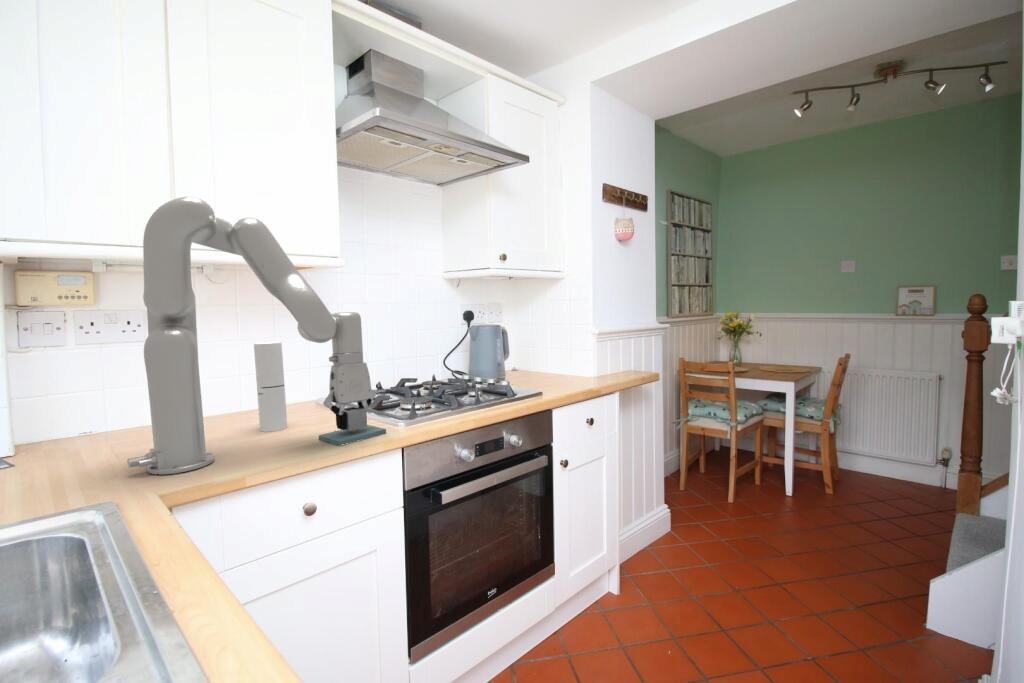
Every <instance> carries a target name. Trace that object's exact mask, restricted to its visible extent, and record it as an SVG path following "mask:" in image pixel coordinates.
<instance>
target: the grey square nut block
mask: <svg viewBox="0 0 1024 683" xmlns="http://www.w3.org/2000/svg"><path fill="white" fill-rule="evenodd" d="M351 409H354V410H352V411H348V410H351ZM366 413H367V410H366V408H362V407H358V405H353V406H349V407H345V408H344V412H343V414H344V415H345V420H346V429H345V430H346V431H352V430H356V429H360V428H364V427H367V425H368V420H367V419H368V418H367V415H366Z"/></svg>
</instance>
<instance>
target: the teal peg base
mask: <svg viewBox="0 0 1024 683" xmlns="http://www.w3.org/2000/svg"><path fill="white" fill-rule="evenodd" d="M352 410H354V409H351V410H348V411H352ZM381 434H382V435H385V434H387V428H383V427H378V426H374V425H371V424H367V427H364V428H360V429H356V430H352V431H346V430H341V429H337V430H334V431H330V432H328V433H321V434H319V435H318V440H319V441H321V442H324V441H325V443H328V442H329V444H331V443H332V445H335V444H336V445H335V446H338V445H342V444H345V445H347V444H346V443H349V444H351V443H350V442H353V441H356V442H358V441H357V440H360V441H362V440H361V439H364V440H367V439H370V437H371V438H374V437H377V436H378V437H379V436H382V435H381ZM373 436H374V437H373ZM366 438H367V439H366ZM353 443H354V442H353ZM342 446H343V445H342Z"/></svg>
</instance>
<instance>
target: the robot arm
mask: <svg viewBox="0 0 1024 683" xmlns="http://www.w3.org/2000/svg"><path fill="white" fill-rule="evenodd" d="M142 241H143V242H142V244H143V245H142V246H143V248H142V252H143V263H142V264H143V266H142V267H143V295H142V297H143V304H144V306H145V307H146V314H147V315H146V317H147V332H148V335H147V337H146V339H145V341H144V344H143V358H144V366H145V372H146V379H147V389H148V391H147V392H148V400H149V409H150V421H151V429H152V430H151V431H152V440H153V448H150V449H149V452H148V453H145V454H144V455H141V456H135V457H132V458H131V457H130V458H128V459H127V466H128V468H134V467H139V468H141V467H146V472H147V471H148V472H147V473H148V474H150V473H151V474H152V475H157V474H159V476H160V475H172V474H179V473H185V472H190V471H194V470H198V469H200V468H201V469H202V468H204V467H206V466H208V465H210V464H212V463H213V462H214V461H215V454H213V453H212V452H209V451H207V449H206V436H205V426H204V414H203V413H204V412H203V402H202V391H201V390H202V389H201V380H200V379H201V378H200V366H199V347H198V332H197V331H198V330H197V327H198V326H197V313H196V312H197V310H196V309H197V307H196V295H195V291H194V289H193V284H192V270H191V268H192V262H191V257H192V256H191V250H192V249H191V248H192V244H197V245H201V246H203V247H208V248H211V249H214V250H218V251H221V252H224V253H229V254H231V255H232V254H233V255H237V256H241V257H242V258H243V260H244V261H245V262H246V264H247V265H248V266H249V267H250V269H251V270H252V272H253V273H254V274H255V276H256V277H257V279H258V280H259V281H260V283H261V284H262V285H263V287H264V288H265V289H266V290H267V292H268V293H270V294H271V295H272V296H273V297H275V299H277V300H279V302H281V304H282V305H283V306H284V307H285V308H286V309H287V311H289V313H290V314H291V315H292V317H293V318H294V319H295V321H296V322H297V331H298V333H299V335H300V336H301V337H302V338H303V339H304V340H306V341H309V342H312V343H315V344H316V343H317V344H323V343H327V342H329V341H331V343H332V344H331V345H332V346H331V347H332V348H331V349H332V354H331V356H329V357H328V361H329V362H330V363H331V362H332V365H331V366H330V374H329V386H328V388H329V393H328V395H327V396H326V398H325V400H324V401H323V404H322V405H323V406H324V407H327V408H328V409H329V410H330V411H331V412H332V413H333V414H334V415H335V425H336V429H337V430H345V429H346V420H345V415H344V414H343V412H344V408H346V405H347V404H353V403H356V404H357V407H362V408H366V411H367V410H368V409H369V405H371V403H372V401H373V400H374V399H375V397H376V395H377V393H376V392H375V391H374V390H373V389H372V385H371V376H370V372H369V368H368V364H367V362H364V350H363V348H364V347H363V334H362V333H363V332H362V331H363V330H362V329H363V328H362V318H361V315H360V314H359V312H355V311H352V312H351V311H346V312H345V311H344V312H343V311H341V312H334V313H331V312H330V311H329V310H328V309H329V308H327V306H326V305H325V303H324V302H323V301H322V299H321V298H320V296H319V295H318V293H317V292H316V291H315V290H314V289H313V287H311V285H310V284H309V282H308V281H307V280H306V278H304V276H303V275H302V274H301V273H300V271H298V269H297V268H296V266H295V265H294V264H293V261H291V259H290V258H289V257H288V255H287V254H286V252H285V250H284V249H283V248H282V246H281V245H280V243H279V242H278V240H277V239H276V237H275V236H274V235H273V233H272V232H271V230H270V229H269V228H268V226H266V224H265V223H264V222H263V221H261V220H259V219H258V218H255V217H245V218H240V219H239V220H238V219H234V218H231V217H229V216H224V215H222V214H219V213H215V211H214V209H213V208H212V206H211V205H210V204H208V203H207V202H206V201H204V200H203V199H201V198H198V197H193V196H181V197H177V198H174V199H172V200H169V201H166V202H165V203H164V204H162V205H160V206H159V207H158V208H157V209H156V210H155V211H154V212H153V213H152V215H151V216H150V217H149V218H148V221H147V223H146V225H145V229H144V232H143V240H142ZM334 403H335V404H334ZM367 413H368V412H366V415H367Z"/></svg>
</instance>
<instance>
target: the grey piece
mask: <svg viewBox="0 0 1024 683" xmlns="http://www.w3.org/2000/svg"><path fill="white" fill-rule="evenodd" d="M253 349H254V350H253V352H254V362H255V363H254V364H255V367H254V368H255V376H256V378H255V379H256V389H257V390H256V392H257V405H258V417H259V418H258V419H259V431H260V432H262V431H263V432H264V433H270V432H277V431H282V430H286V429H287V428H288V414H287V404H286V388H285V386H286V384H285V374H284V370H285V369H284V357H283V344H282V342H281V341H265V342H264V341H263V342H256V343H255V342H254V343H253Z"/></svg>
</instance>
